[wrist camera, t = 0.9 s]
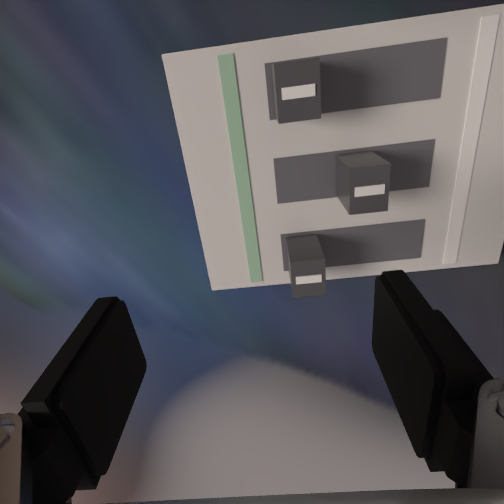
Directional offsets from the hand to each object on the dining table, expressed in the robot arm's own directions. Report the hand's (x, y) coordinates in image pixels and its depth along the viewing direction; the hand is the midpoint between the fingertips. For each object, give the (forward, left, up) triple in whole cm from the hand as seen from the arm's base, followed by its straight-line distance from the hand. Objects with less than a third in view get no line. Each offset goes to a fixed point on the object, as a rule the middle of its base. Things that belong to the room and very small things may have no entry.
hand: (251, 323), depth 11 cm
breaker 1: (-3, -6, -16) cm, 17 cm away
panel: (-7, 0, -18) cm, 19 cm away
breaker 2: (-3, +6, -16) cm, 17 cm away
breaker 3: (-7, 0, -16) cm, 17 cm away
